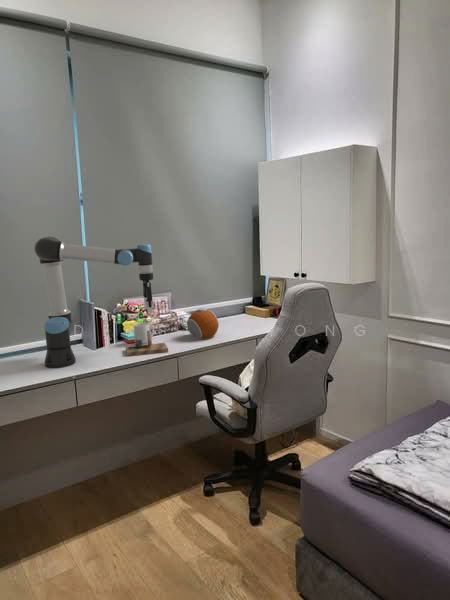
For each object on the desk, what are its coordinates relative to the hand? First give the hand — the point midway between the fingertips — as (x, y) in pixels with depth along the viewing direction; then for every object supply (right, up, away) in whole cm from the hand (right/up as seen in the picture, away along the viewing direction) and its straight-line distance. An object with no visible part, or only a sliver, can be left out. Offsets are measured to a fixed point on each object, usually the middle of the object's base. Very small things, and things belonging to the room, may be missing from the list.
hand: (148, 310), depth 263 cm
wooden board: (-1, -22, +1) cm, 22 cm away
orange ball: (+29, -17, +29) cm, 44 cm away
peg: (-5, -20, 0) cm, 21 cm away
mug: (-5, -19, +20) cm, 28 cm away
